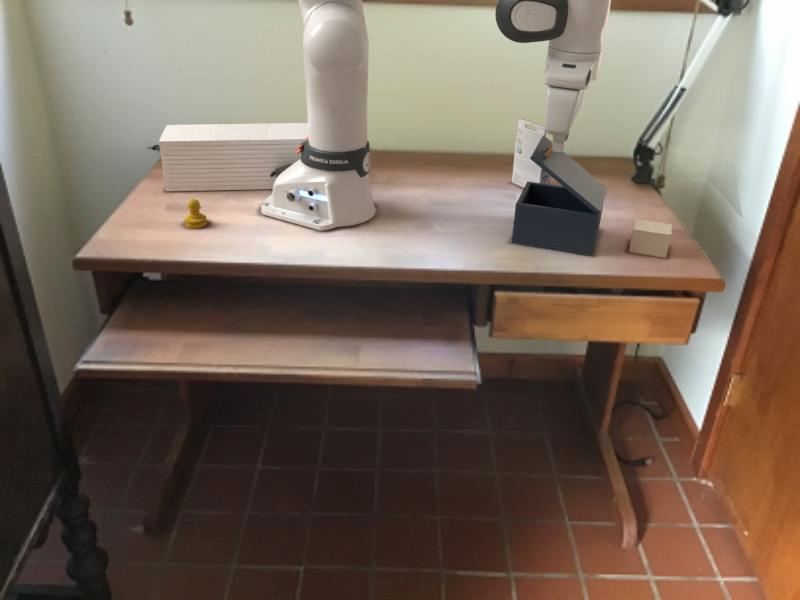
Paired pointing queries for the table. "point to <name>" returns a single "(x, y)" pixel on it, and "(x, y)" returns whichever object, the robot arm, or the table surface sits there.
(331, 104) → the robot arm
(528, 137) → the ink box
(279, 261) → the table surface
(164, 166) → the white ribbed box
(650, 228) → the cream box
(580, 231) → the chest
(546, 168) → the lid
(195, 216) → the chess piece
